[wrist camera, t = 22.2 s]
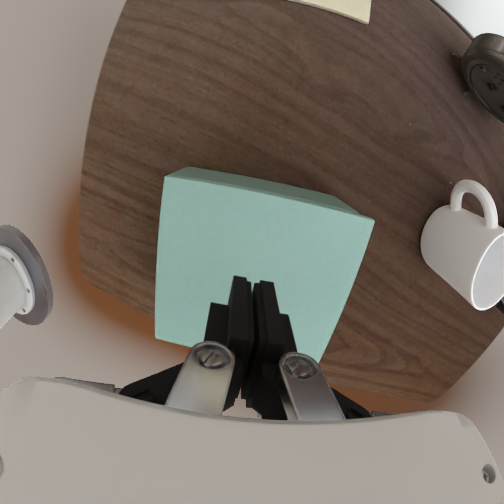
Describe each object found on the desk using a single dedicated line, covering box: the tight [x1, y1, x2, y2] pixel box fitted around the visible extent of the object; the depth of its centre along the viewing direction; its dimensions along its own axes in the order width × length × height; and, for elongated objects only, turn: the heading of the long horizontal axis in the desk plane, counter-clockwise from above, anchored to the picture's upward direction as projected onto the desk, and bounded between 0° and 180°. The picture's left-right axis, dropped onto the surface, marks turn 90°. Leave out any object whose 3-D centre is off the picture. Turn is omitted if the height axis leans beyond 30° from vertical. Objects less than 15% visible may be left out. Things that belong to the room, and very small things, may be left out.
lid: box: [155, 175, 375, 363], centre depth 21 cm, size 15×14×1 cm
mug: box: [420, 179, 504, 310], centre depth 22 cm, size 12×8×10 cm
